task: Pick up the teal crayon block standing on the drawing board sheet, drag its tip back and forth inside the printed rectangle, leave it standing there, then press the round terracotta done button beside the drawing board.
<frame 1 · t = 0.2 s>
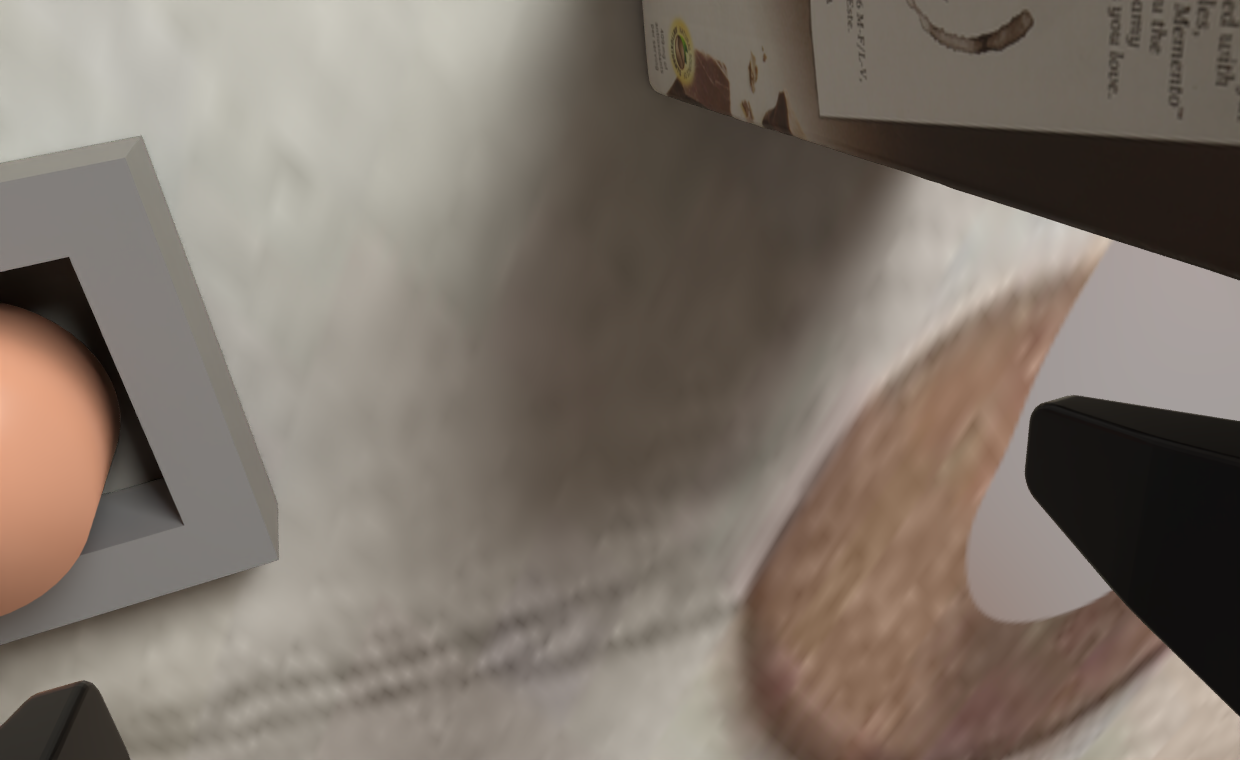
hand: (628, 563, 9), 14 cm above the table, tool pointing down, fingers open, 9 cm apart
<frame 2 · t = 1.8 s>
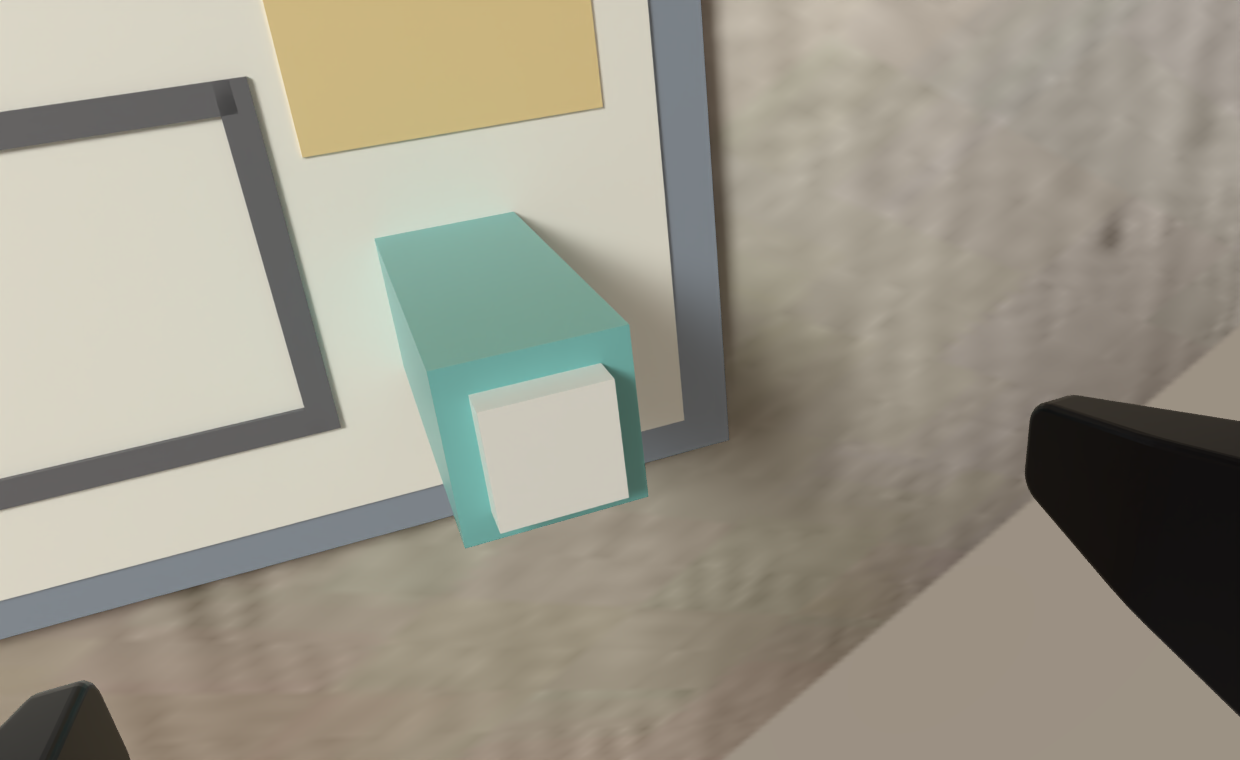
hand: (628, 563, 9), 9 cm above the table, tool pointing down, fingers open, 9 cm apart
drawing board: (194, 245, 15), on the table
teal crayon: (458, 290, 16), point 1 cm above the table, touching drawing board
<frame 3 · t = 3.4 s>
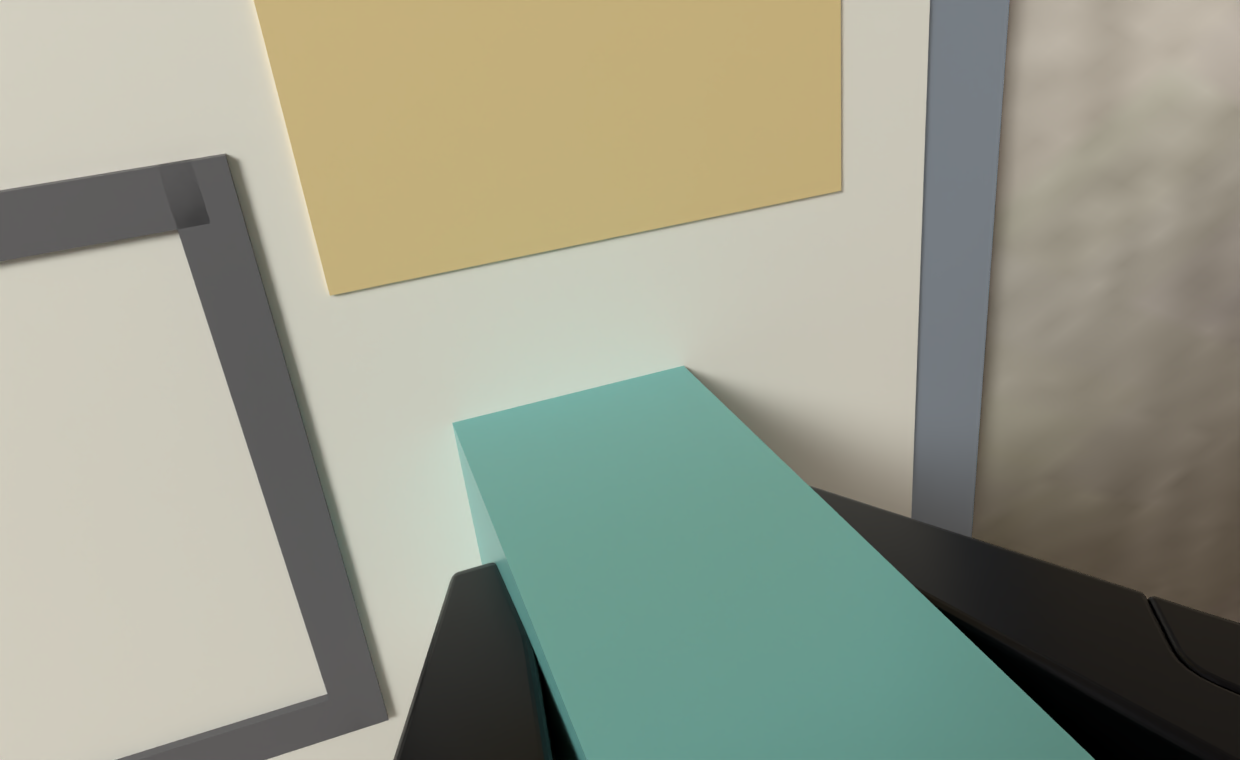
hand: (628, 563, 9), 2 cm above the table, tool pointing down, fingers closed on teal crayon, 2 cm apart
drawing board: (136, 440, 9), on the table
teal crayon: (586, 495, 10), point 1 cm above the table, touching drawing board, gripper
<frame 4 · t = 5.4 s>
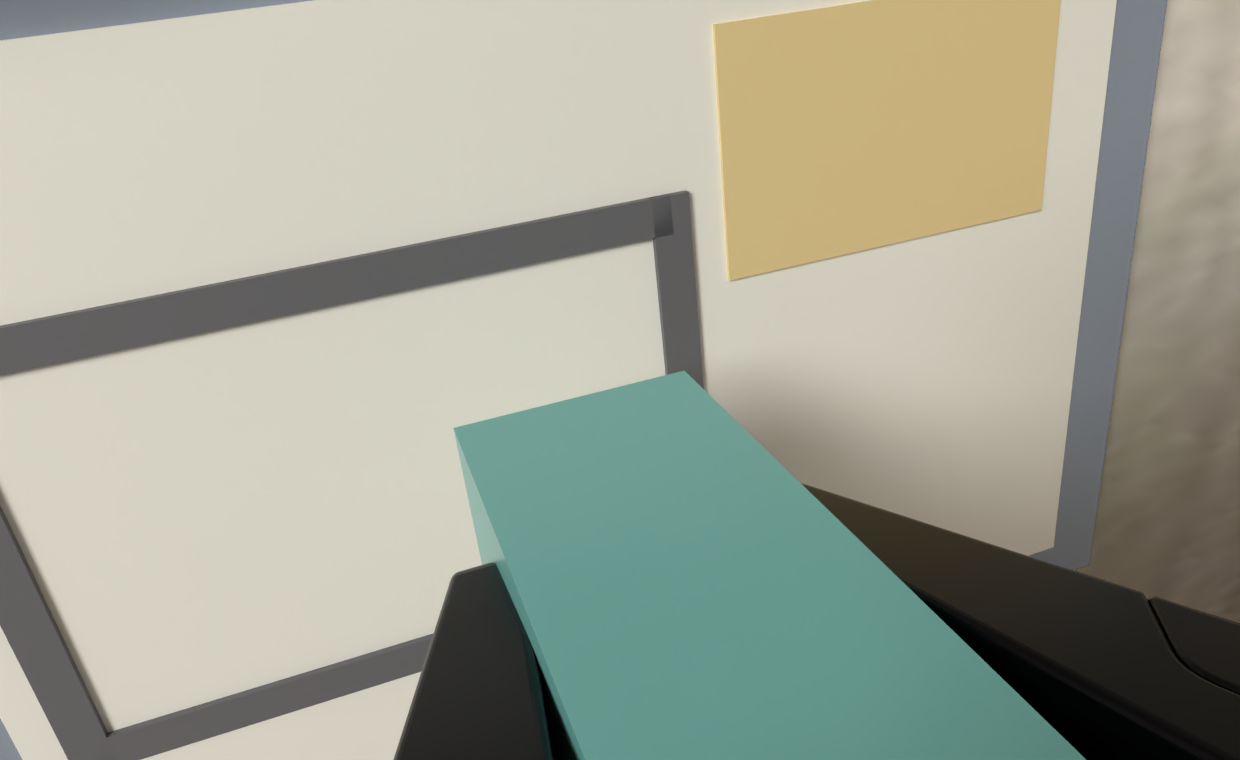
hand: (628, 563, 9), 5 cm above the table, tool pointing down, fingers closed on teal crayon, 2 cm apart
drawing board: (583, 378, 13), on the table
teal crayon: (587, 499, 10), point 3 cm above the table, touching gripper
when the fingers open (2 cm above the table, at t = 7.4 s): teal crayon stays where it is, resting on drawing board.
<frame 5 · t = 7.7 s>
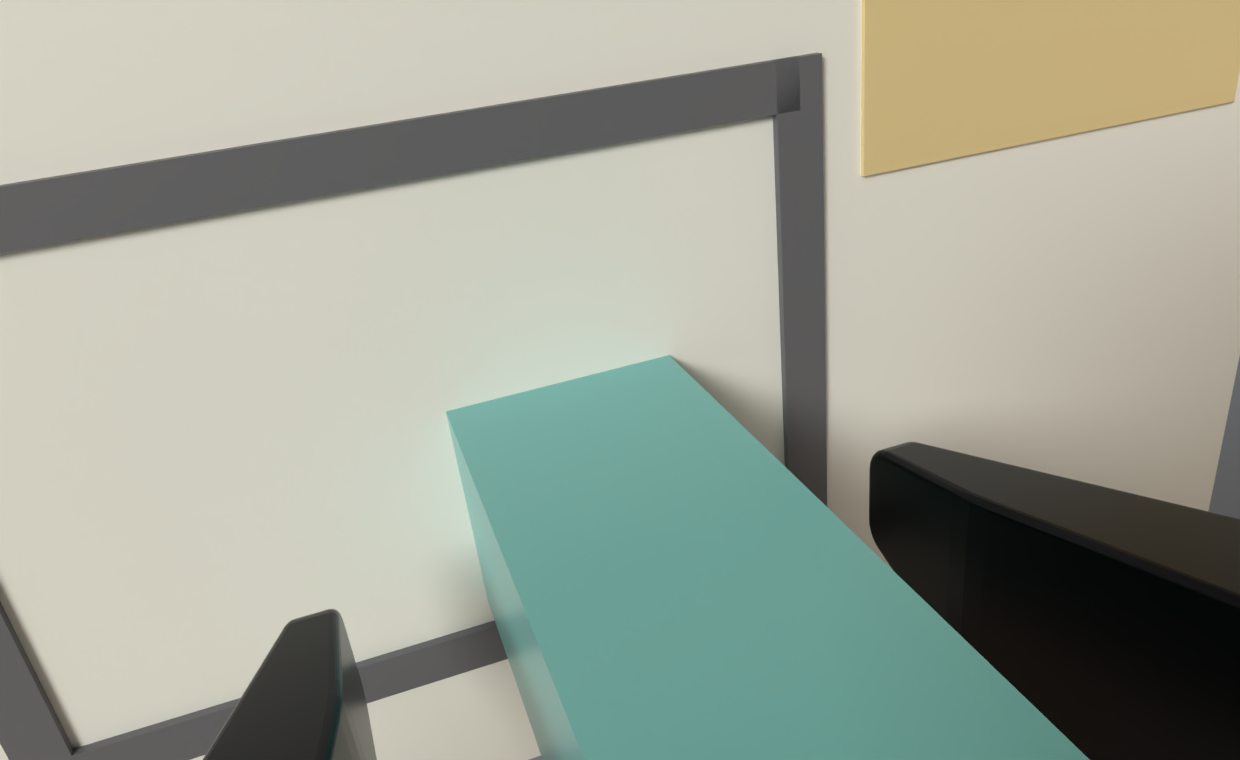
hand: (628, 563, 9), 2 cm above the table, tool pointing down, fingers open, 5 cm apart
drawing board: (672, 304, 10), on the table
teal crayon: (576, 481, 10), point 1 cm above the table, touching drawing board
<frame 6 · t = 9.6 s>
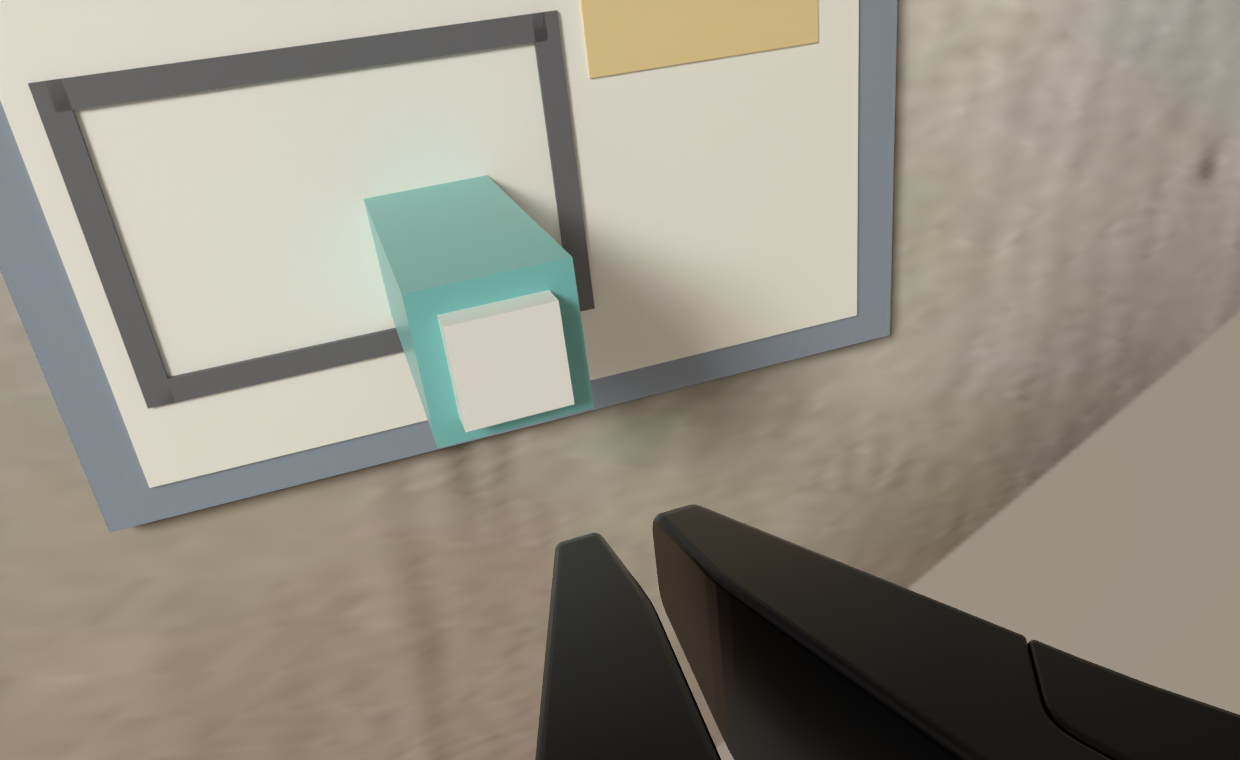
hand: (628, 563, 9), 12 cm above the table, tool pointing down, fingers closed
drawing board: (493, 151, 19), on the table
teal crayon: (438, 246, 18), point 1 cm above the table, touching drawing board
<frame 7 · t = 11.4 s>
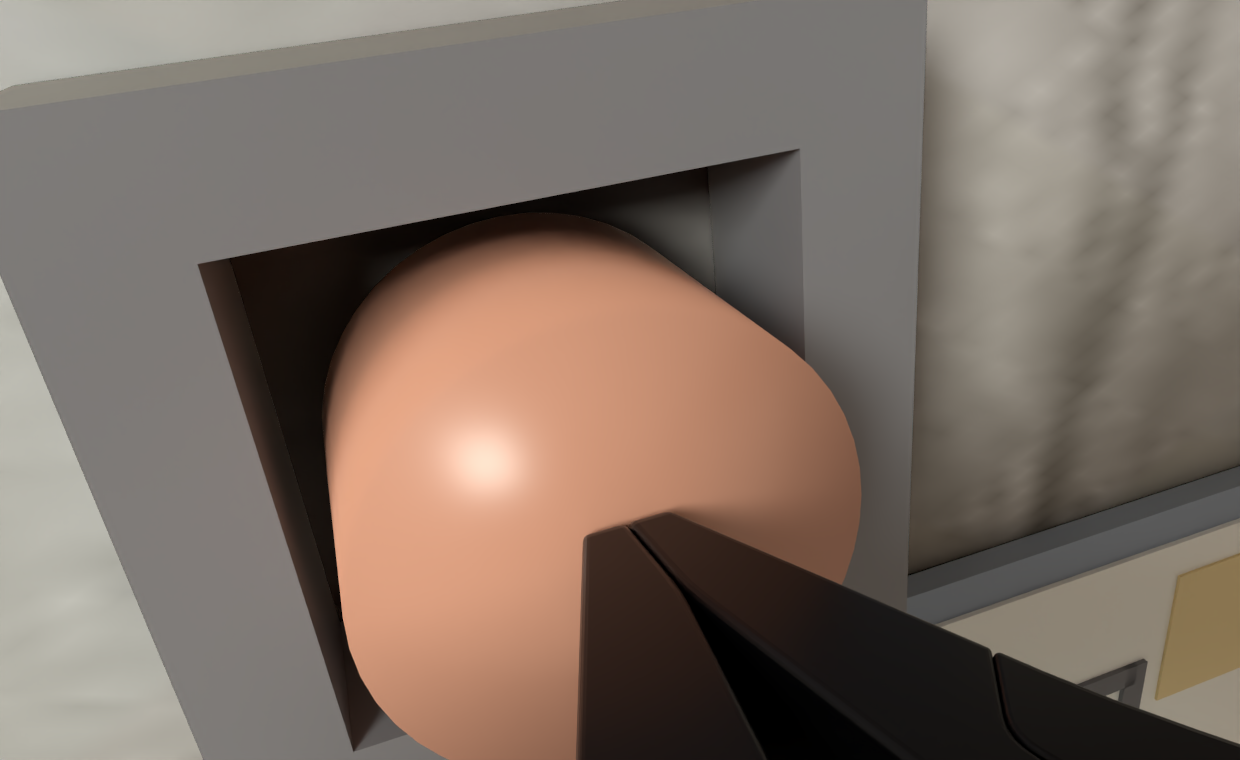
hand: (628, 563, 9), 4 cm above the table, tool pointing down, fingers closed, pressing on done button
button housing: (513, 380, 12), on the table
drawing board: (1049, 751, 20), on the table
done button: (571, 476, 10), point 3 cm above the table, slide at -0.3 cm, touching gripper
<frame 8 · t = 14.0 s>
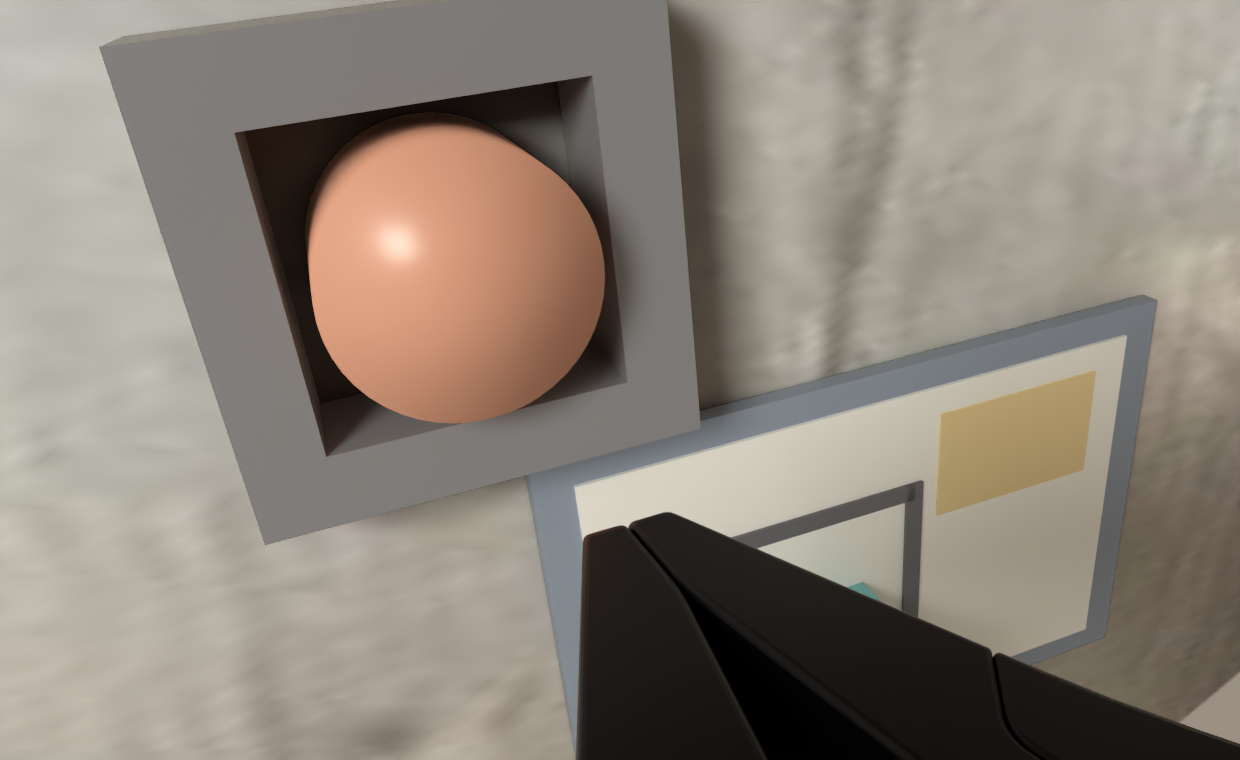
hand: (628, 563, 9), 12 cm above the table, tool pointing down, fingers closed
button housing: (434, 238, 19), on the table
drawing board: (860, 558, 26), on the table
done button: (448, 262, 17), point 2 cm above the table, slide at -1.2 cm
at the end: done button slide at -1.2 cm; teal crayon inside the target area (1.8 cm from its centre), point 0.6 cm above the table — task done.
